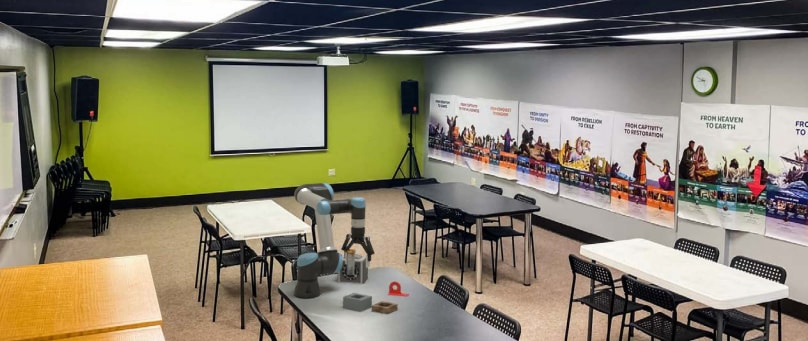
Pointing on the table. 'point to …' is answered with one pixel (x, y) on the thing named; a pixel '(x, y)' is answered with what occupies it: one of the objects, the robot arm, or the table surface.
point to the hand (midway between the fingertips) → (357, 265)
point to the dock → (357, 302)
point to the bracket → (397, 291)
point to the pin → (350, 261)
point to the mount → (384, 307)
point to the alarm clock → (359, 271)
